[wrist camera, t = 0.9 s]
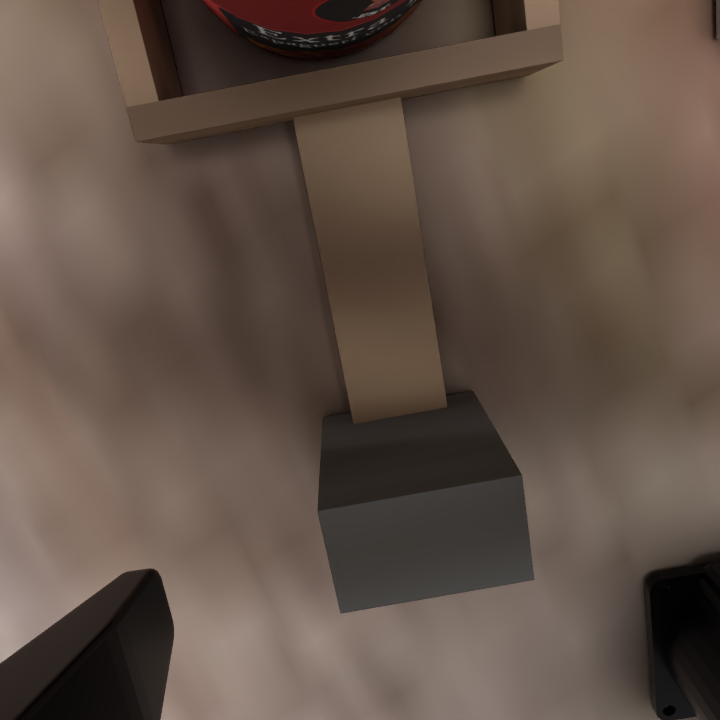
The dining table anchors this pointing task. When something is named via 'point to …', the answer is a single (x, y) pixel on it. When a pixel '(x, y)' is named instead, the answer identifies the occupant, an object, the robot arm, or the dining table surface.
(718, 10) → the grey tray
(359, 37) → the canned food
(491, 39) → the tan tray with handle
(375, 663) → the dining table surface
